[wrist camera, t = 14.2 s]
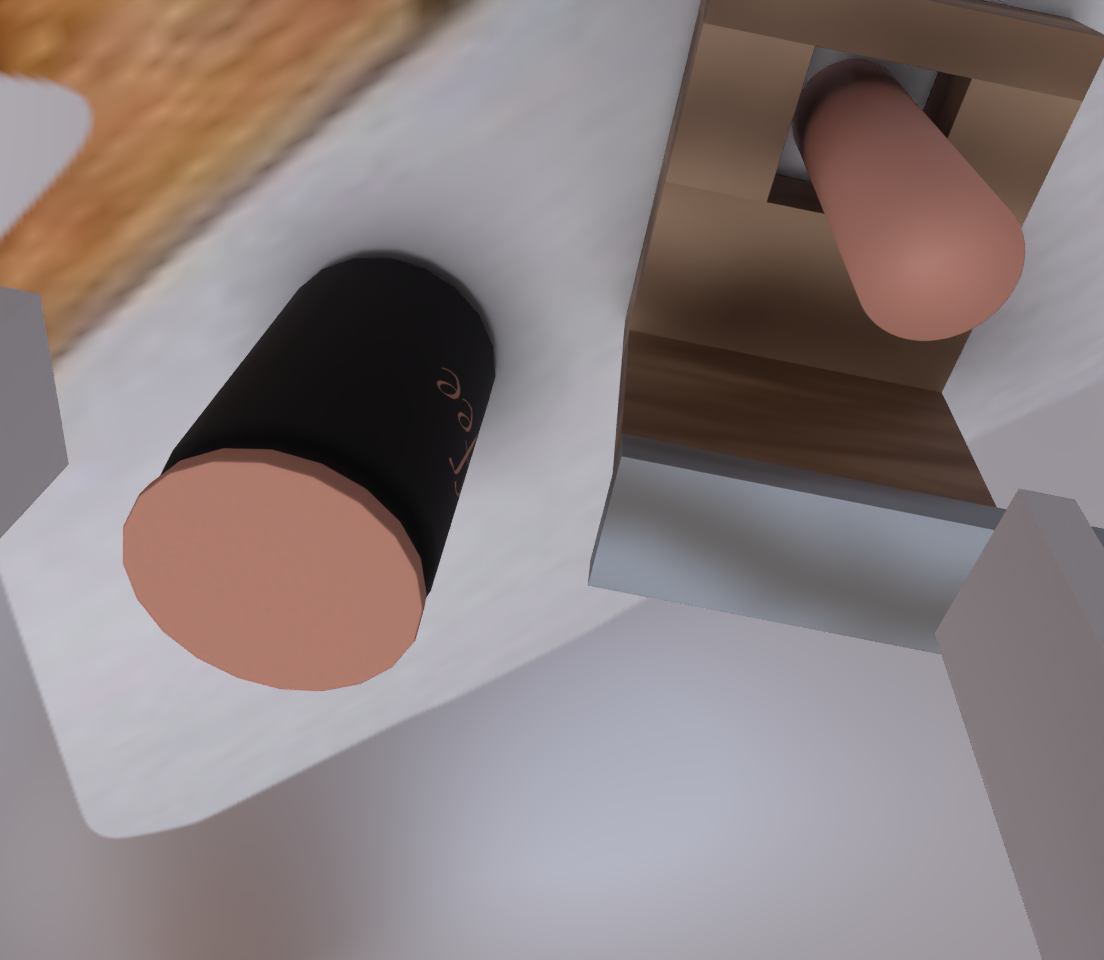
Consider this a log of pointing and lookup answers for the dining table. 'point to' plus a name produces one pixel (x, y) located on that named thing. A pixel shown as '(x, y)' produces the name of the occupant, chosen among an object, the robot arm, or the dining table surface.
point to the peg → (904, 206)
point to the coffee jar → (319, 483)
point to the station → (811, 331)
